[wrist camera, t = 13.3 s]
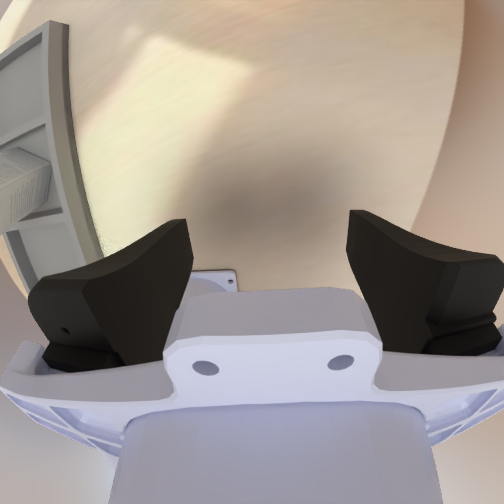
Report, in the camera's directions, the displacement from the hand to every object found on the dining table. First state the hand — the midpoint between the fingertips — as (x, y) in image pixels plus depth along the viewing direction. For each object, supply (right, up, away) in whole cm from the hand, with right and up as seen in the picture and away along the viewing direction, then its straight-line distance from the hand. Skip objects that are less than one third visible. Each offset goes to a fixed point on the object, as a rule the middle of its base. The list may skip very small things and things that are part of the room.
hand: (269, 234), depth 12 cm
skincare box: (-22, +7, +8) cm, 24 cm away
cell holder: (-22, +7, +8) cm, 24 cm away
